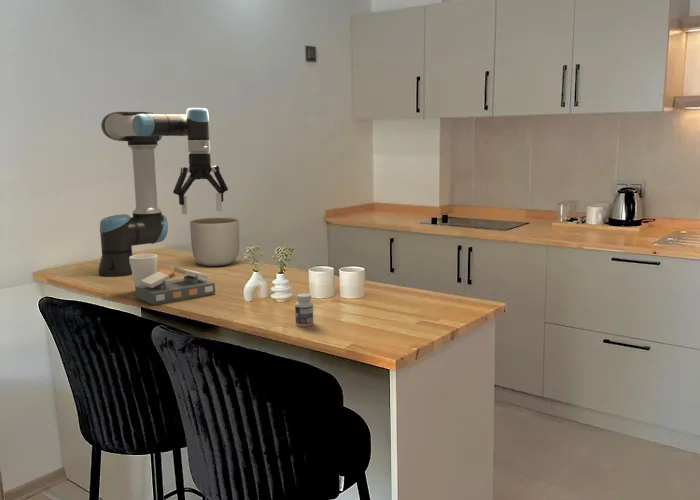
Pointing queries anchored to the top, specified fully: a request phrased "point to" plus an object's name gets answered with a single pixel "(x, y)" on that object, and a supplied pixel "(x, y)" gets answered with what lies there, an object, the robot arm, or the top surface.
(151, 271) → the foam cup
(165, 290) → the switch unit
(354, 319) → the top surface
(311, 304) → the pill bottle
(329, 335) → the top surface
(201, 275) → the panel
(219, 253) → the planter
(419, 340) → the top surface
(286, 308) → the top surface
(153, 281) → the block
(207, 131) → the robot arm
